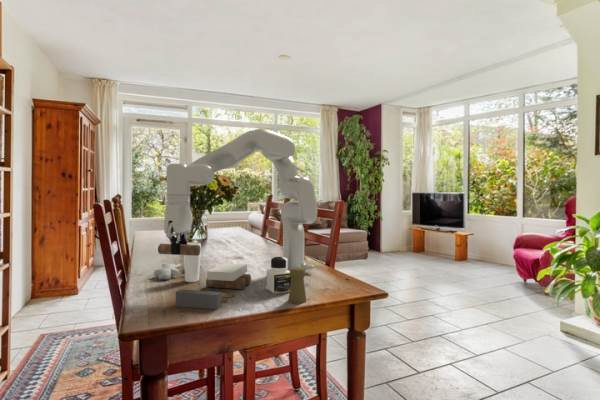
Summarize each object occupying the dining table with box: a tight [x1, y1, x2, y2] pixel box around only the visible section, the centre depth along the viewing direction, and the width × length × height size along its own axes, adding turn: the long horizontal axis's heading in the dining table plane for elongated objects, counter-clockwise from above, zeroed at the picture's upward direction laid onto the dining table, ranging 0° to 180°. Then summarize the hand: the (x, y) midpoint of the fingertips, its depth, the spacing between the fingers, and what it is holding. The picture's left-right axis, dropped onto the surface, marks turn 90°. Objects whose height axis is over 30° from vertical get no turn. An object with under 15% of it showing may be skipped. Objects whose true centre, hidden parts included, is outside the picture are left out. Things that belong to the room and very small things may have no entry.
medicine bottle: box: [266, 256, 291, 295], centre depth 126 cm, size 7×7×12 cm
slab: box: [206, 262, 248, 281], centre depth 130 cm, size 10×14×3 cm
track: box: [205, 273, 252, 303], centre depth 125 cm, size 14×23×4 cm, turn 168°
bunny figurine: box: [154, 263, 182, 281], centre depth 145 cm, size 10×5×15 cm
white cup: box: [182, 241, 202, 283], centre depth 137 cm, size 7×7×15 cm
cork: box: [288, 267, 307, 305], centre depth 114 cm, size 6×6×11 cm
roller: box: [157, 243, 202, 256], centre depth 118 cm, size 14×4×4 cm, turn 78°
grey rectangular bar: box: [175, 288, 223, 311], centre depth 108 cm, size 14×3×4 cm, turn 78°
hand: (179, 252), depth 118 cm, fingers closed on roller, 3 cm apart
